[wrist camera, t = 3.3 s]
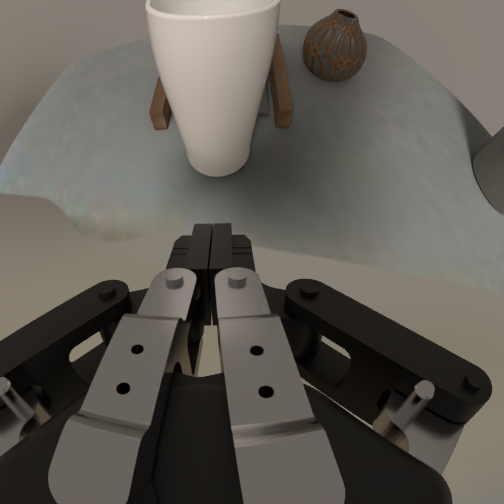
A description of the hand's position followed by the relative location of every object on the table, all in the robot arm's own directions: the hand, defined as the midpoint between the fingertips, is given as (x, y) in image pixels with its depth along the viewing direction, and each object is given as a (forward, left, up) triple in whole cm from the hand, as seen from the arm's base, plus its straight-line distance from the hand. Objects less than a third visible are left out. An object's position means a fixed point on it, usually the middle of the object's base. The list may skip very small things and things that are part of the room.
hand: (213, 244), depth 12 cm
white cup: (0, -11, -9) cm, 14 cm away
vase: (-12, -24, -9) cm, 28 cm away
